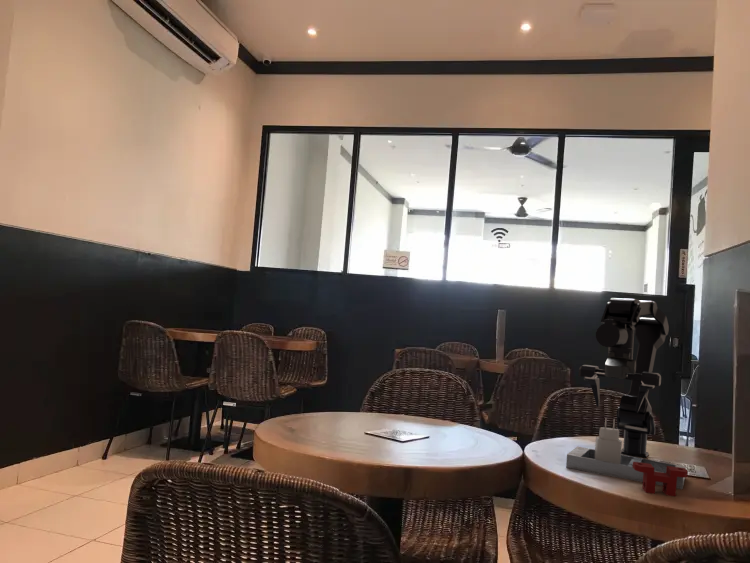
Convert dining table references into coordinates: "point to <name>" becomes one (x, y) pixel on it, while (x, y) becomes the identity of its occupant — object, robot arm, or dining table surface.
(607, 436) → the power adapter
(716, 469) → the dining table surface
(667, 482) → the bracket
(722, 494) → the dining table surface
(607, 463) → the grey rectangular tray
